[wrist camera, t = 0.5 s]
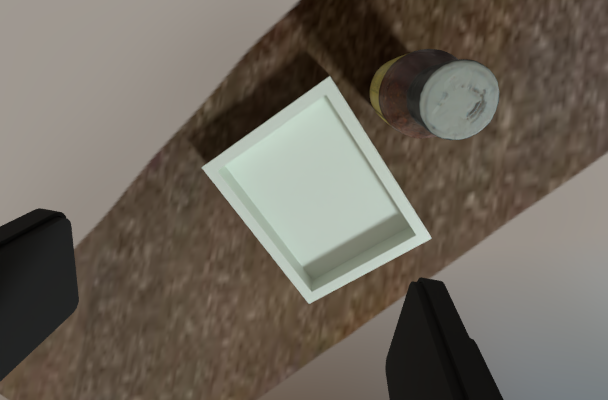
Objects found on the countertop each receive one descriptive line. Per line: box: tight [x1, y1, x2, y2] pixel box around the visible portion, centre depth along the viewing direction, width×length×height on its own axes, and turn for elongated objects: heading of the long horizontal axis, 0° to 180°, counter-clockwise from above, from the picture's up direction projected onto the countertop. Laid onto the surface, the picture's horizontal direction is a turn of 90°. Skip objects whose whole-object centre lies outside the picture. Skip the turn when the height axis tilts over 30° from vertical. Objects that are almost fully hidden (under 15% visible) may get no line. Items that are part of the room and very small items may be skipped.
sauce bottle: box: [370, 49, 499, 140], centre depth 27 cm, size 6×6×20 cm
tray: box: [202, 76, 432, 304], centre depth 40 cm, size 16×20×4 cm
